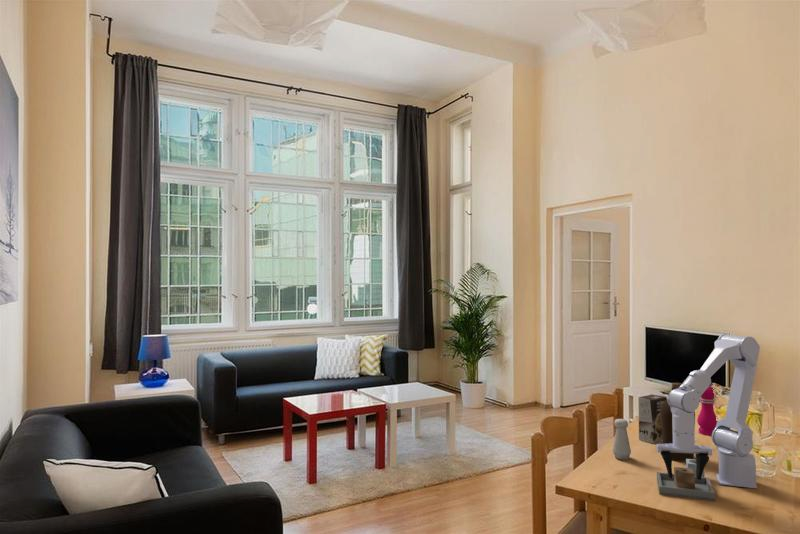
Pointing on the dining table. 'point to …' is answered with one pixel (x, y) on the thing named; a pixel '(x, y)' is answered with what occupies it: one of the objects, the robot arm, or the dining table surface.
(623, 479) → the dining table surface
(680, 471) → the small bore block
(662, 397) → the coffee box
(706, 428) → the pepper mill
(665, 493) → the tray
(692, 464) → the wide bore block
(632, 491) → the dining table surface
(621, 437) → the salt shaker
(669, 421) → the olive oil
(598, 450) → the dining table surface
